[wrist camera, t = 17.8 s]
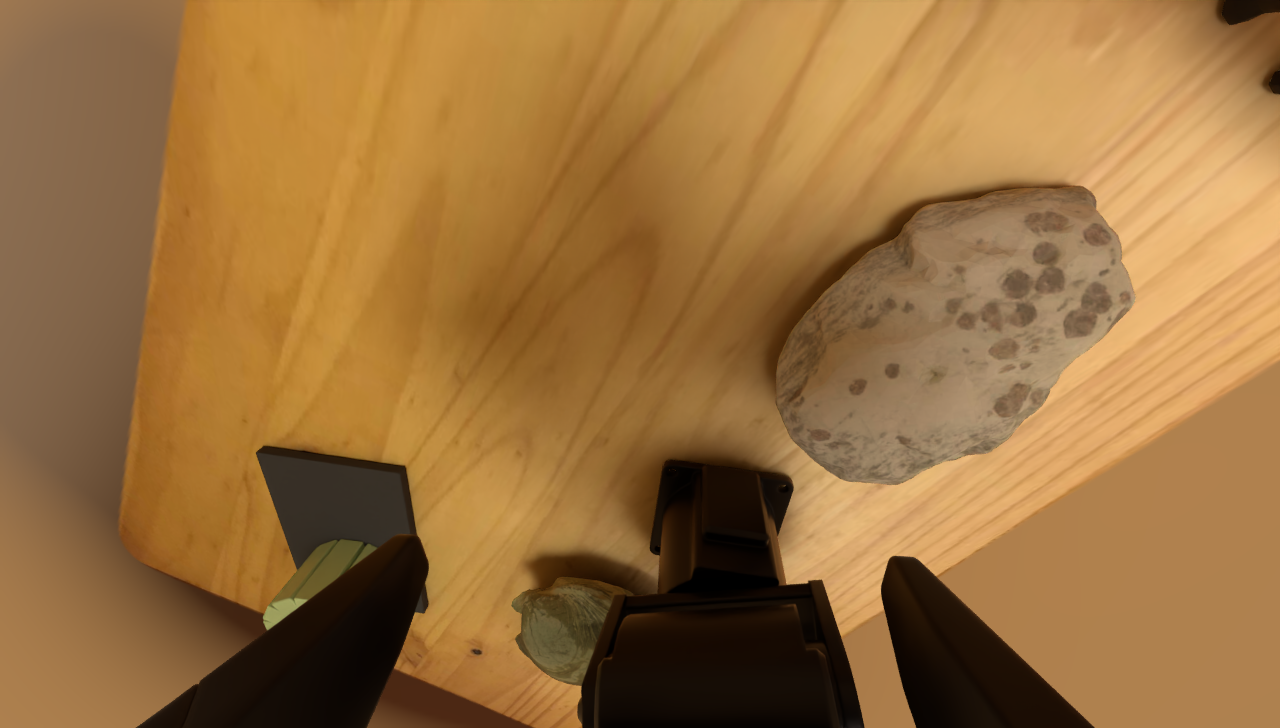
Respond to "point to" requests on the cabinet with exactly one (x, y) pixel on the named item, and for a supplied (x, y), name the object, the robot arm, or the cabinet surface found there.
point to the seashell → (564, 625)
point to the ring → (315, 576)
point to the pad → (336, 501)
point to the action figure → (1245, 5)
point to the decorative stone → (950, 332)
